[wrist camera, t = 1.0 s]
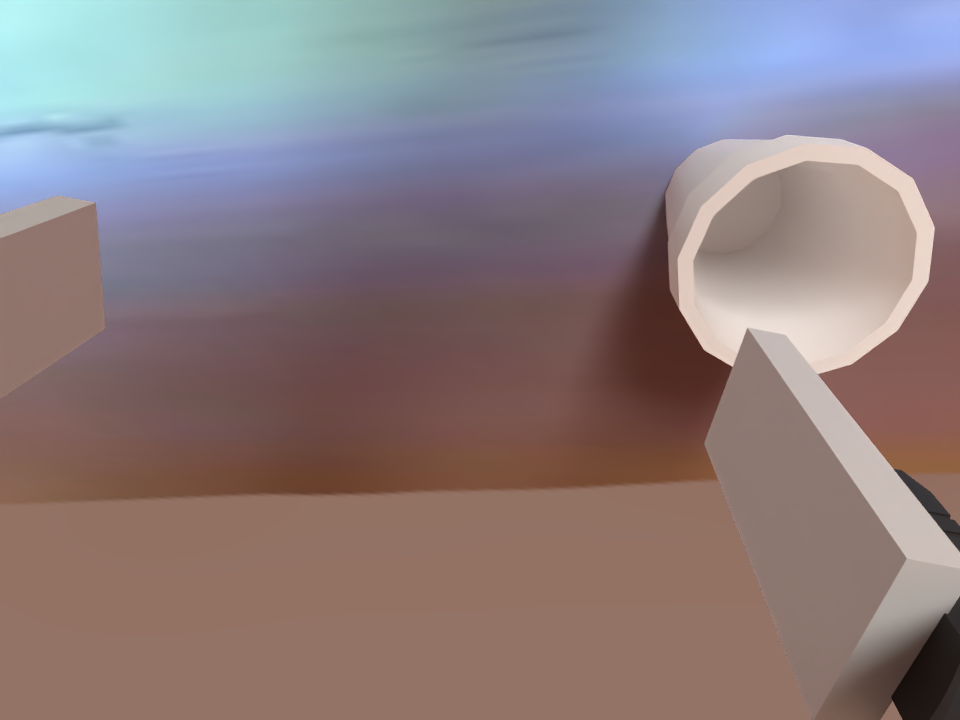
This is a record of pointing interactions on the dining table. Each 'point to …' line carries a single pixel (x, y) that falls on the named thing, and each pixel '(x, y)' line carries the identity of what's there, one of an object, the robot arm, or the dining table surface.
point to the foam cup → (795, 246)
